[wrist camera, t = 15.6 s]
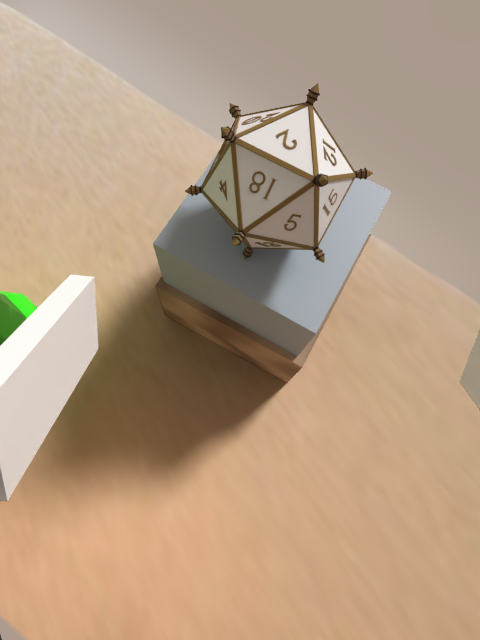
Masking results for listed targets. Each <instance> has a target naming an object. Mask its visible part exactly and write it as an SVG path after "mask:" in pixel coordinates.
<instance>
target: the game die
mask: <svg viewBox="0 0 480 640" xmlns="http://www.w3.org/2000/svg"><path fill="white" fill-rule="evenodd" d="M318 95H319V89H318V84H317V85H315V86H314V87H313V88H311V89H309V93H308V95H307V101H306V102H305V103H301V104H295V105H290V106H286V107H280V108H275V109H270V110H266V111H260V112H256V113H250V114H246V115H241V114H240V111H241V110H239V109H238V106H235V105H233V104H230V110H229V111H230V114H232V117H234V118H235V121H234V123H233V125H232V127H231V129H230V128H229V127H221V131H222V138H224V139H225V141H224V143H223V145H222V147H221V149H220V150H219V152H218V154H217V156H216V158H215V160H214V162H213V164H212V166H211V168H210V170H209V172H208V174H207V176H206V178H205V180H204V182H203V184H202V185H201V186H200V187H198V186H196V185H195V186H192V185H191V187H189V188H188V189H187V190H186V191H185V192H187V193H189V194H191V195H192V196H193V195H196V196H197V195H198V194H199V193H202V194H203V195H204V196H205V197H206V199H207V200H208V201H209V202H210V203H211V205H212V206H213V207H214V208H215V209H216V210H217V212H218V213H219V214H220V215H221V216H222V217H223V219H224V220H225V221H226V222H227V223H228V225H229V226H230V227H231V228H232V229H233V230H234V232H235V233H234V236H232V242H233V246H236V245H240V244H241V243H242V241H243V242H244V243H245V244H246V246H247V247H246V248H245V249H244V251H243V255H244V260H245V259H247V258H248V257H251V256H252V255H251V253H253V252H252V249H293V250H313V251H314V256H315V257H316V260H319V261H321V262H323V263H325V256H324V255H325V254H324V253H323V252H322V251H323V250H321V249H320V248H319V247H318V246H319V244H320V242H321V241H322V239H323V237H324V235H325V233H326V231H327V229H328V228H329V226H330V224H331V222H332V220H333V218H334V216H335V215H336V213H337V211H338V209H339V207H340V205H341V203H342V201H343V200H344V198H345V196H346V194H347V192H348V190H349V188H350V187H351V185H352V183H353V181H354V179H355V178H359V179H360V180H361V179H365V180H366V178H367V177H368V176H370V175H371V174H373V173H372V172H370V171H368V170H367V169H366V168H365V169H362V170H361V169H360V170H359V171H354V169H353V168H352V166H351V164H350V163H349V161H348V160H347V158H346V157H345V155H344V154H343V152H342V150H341V149H340V147H339V146H338V144H337V142H336V141H335V139H334V138H333V136H332V135H331V133H330V132H329V130H328V129H327V127H326V125H325V124H324V122H323V121H322V119H321V117H320V116H319V115H318V113H317V111H316V110H315V108H314V107H313V103H314V102H315V101H317V97H318Z"/></svg>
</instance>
